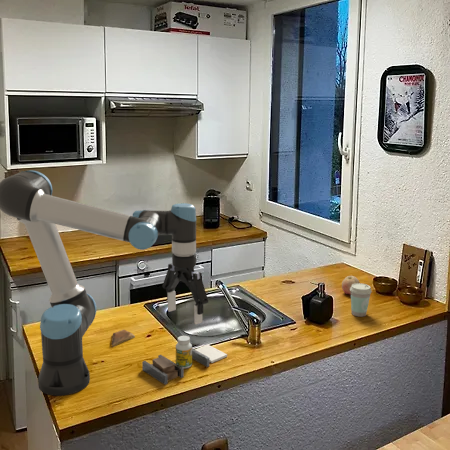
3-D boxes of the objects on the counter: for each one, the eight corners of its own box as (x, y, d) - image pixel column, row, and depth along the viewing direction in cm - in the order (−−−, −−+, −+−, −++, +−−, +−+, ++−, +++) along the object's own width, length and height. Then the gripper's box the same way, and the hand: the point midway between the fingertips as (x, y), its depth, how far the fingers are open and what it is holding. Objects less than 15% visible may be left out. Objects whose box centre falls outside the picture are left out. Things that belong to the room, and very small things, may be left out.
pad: (211, 363, 182) (211, 360, 182) (192, 352, 189) (192, 350, 189) (227, 356, 187) (227, 354, 187) (207, 346, 194) (207, 344, 194)
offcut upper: (163, 374, 170) (163, 368, 170) (152, 365, 176) (152, 359, 175) (174, 370, 173) (174, 364, 172) (163, 361, 178) (163, 356, 178)
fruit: (337, 292, 249) (338, 275, 247) (351, 289, 253) (352, 273, 251) (349, 297, 243) (350, 280, 241) (362, 295, 246) (364, 278, 244)
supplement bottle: (193, 361, 183) (193, 335, 180) (190, 369, 177) (190, 342, 175) (177, 360, 183) (177, 333, 181) (173, 368, 178) (173, 341, 176)
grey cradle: (164, 384, 168) (164, 375, 167) (142, 370, 177) (142, 361, 176) (209, 366, 180) (209, 357, 179) (186, 353, 189) (186, 345, 188)
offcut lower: (167, 382, 170) (167, 375, 170) (150, 371, 177) (150, 364, 176) (177, 378, 173) (177, 371, 173) (160, 367, 180) (160, 360, 179)
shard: (111, 348, 192) (111, 344, 191) (98, 342, 196) (98, 337, 196) (135, 339, 200) (135, 334, 199) (122, 332, 205) (122, 328, 204)
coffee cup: (361, 319, 219) (363, 291, 216) (343, 313, 226) (346, 285, 223) (373, 314, 225) (376, 287, 222) (356, 308, 231) (358, 281, 228)
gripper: (219, 259, 165) (219, 325, 170) (169, 242, 183) (170, 302, 188) (200, 264, 160) (201, 332, 165) (151, 247, 178) (152, 308, 183)
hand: (184, 316), depth 176 cm, fingers open, 13 cm apart
